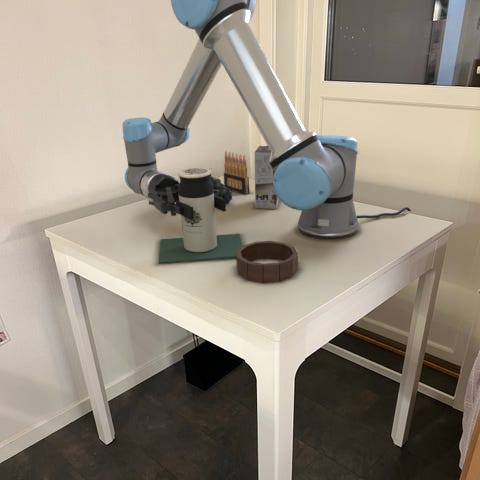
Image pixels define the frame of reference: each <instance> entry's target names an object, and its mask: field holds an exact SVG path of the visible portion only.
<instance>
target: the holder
mask: <svg viewBox="0 0 480 480" xmlns="http://www.w3.org/2000/svg"><path fill="white" fill-rule="evenodd" d="M242 245H243V244H242ZM269 259H271V260H278V262H267V263H266V262H265V263H261V262H257V260H269ZM298 259H299V253H298V250H297V249H296V247H295V246H294V245H292V244H289V243H286V242H283V241H274V240H261V241H259V240H258V241H253V242H249V243H246V244H244V245H243V246H242V247H241V248H239V249H238V250H237V251H236V258H235V260H236V261H235V262H236V271H237V275H238V276H240V277H241V278H243V279H245V280H247V281H249V282H254V283H255V282H256V283H262V284H267V283H268V284H269V283H278V282H282V281H285V280H289V279H291V278H292V277H294V275H295V274H296V273H297V271H298V264H299V262H298ZM255 261H256V262H255Z"/></svg>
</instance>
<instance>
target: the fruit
mask: <svg viewBox="0 0 480 480" xmlns="http://www.w3.org/2000/svg"><path fill="white" fill-rule="evenodd" d="M210 181H211V182H212V184H213V189H215V190H218V197H221V198H223V199H225V203H226V205H229V204H230V203H231V201H232V200H233V195H234V193H233V191H231V190H230V189H229V188H226V187H225V186H224V183H222V180H221V179H220V178H219V177H217V178H214V176H212V173H211V174H210Z"/></svg>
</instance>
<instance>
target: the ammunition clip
mask: <svg viewBox="0 0 480 480" xmlns="http://www.w3.org/2000/svg"><path fill="white" fill-rule="evenodd" d="M223 165H224V167H223V168H224V172H223V184H224V186H225V187H226V188H229V189H230V191H231V192H234V193H235V192H236V193H238V194H242V195H248V194H250V192H251V191H250V179H249V175H248V165H247V157H246V155H245V154H243V155H242V154H241V153H240V154H238V153H237V152H236V153H234V152H232V153H231V151H229V152H228V151H227V150H225V152H224V164H223Z"/></svg>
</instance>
